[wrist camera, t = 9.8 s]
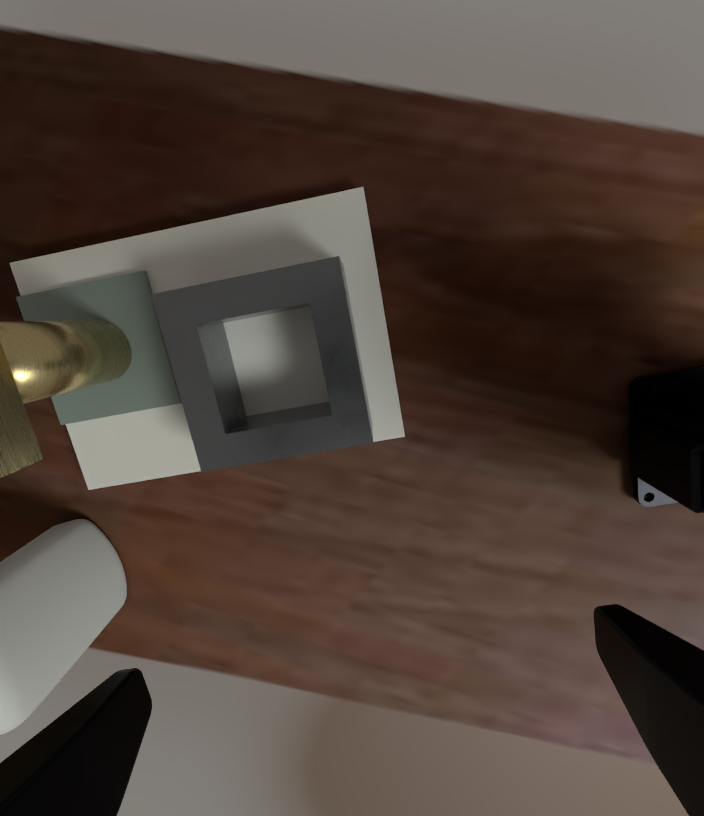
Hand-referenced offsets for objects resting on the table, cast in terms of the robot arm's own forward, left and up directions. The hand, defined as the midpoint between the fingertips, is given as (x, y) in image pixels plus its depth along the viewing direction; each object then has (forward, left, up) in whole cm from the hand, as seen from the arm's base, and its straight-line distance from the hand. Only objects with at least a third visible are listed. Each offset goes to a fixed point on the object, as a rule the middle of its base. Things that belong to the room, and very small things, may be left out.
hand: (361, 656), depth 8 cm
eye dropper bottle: (+16, +4, -13) cm, 21 cm away
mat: (+11, -7, -12) cm, 18 cm away
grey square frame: (+3, -5, -12) cm, 13 cm away
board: (+6, -6, -13) cm, 16 cm away
